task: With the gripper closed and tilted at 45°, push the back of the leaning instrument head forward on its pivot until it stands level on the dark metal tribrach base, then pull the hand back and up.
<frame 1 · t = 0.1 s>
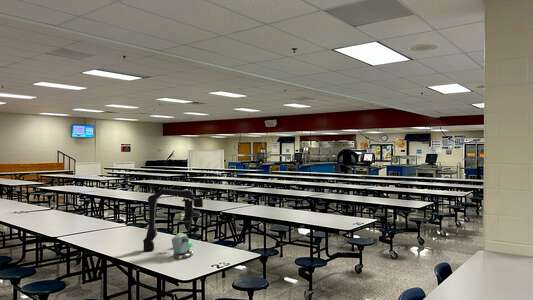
hand: (188, 229, 263), 15 cm above the table, tool pointing down, fingers open, 9 cm apart
tribrach base: (182, 256, 246), on the table
instrument head: (182, 242, 246), point 9 cm above the table, hinge at -14.0°
camera mount: (183, 247, 270), on the table
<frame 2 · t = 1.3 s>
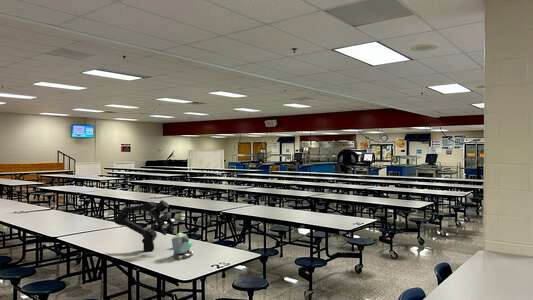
hand: (169, 233, 254), 13 cm above the table, tool tilted 45°, fingers open, 7 cm apart
nothing on the table moved.
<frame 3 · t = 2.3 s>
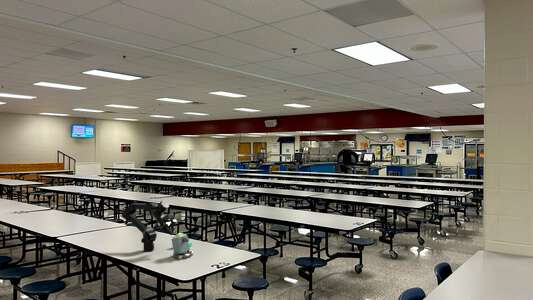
hand: (171, 234, 251), 14 cm above the table, tool tilted 45°, fingers closed
nothing on the table moved.
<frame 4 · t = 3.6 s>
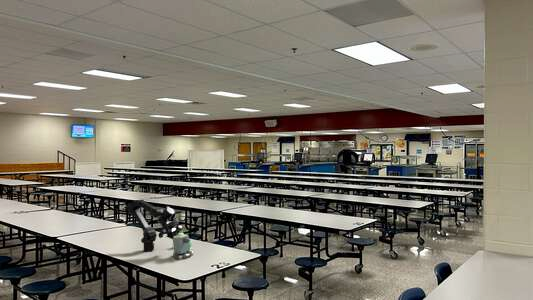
hand: (177, 241, 248), 10 cm above the table, tool tilted 45°, fingers closed, pressing on instrument head
instrument head: (182, 242, 245), point 9 cm above the table, hinge at -8.1°, touching gripper
everything else where it was.
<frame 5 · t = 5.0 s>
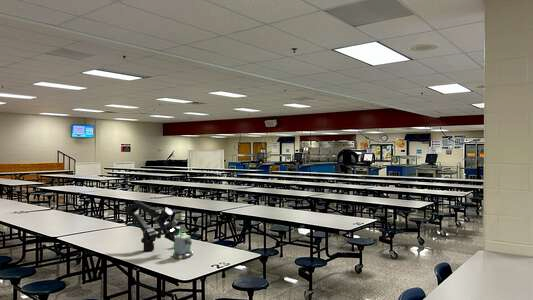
hand: (175, 241, 249), 9 cm above the table, tool tilted 45°, fingers closed
instrument head: (184, 243, 245), point 9 cm above the table, hinge at 3.0°
everything else where it was.
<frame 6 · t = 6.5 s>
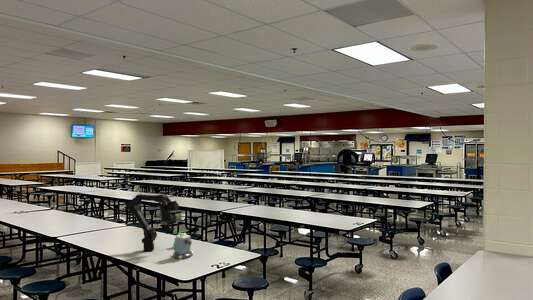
hand: (167, 234, 257), 13 cm above the table, tool pointing down, fingers closed
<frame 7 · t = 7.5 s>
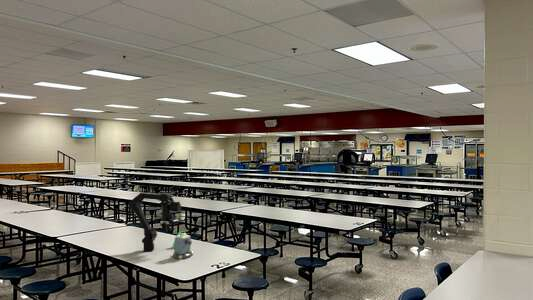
hand: (166, 233, 258), 13 cm above the table, tool pointing down, fingers closed
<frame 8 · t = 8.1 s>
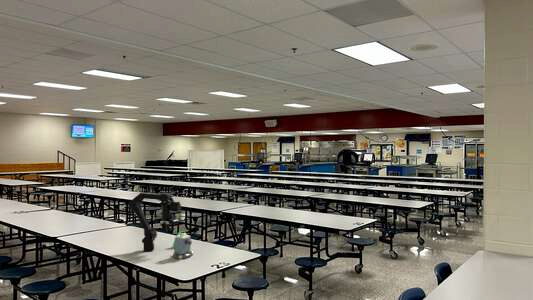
hand: (166, 233, 258), 13 cm above the table, tool pointing down, fingers closed
at the end: instrument head at +3° (first picture: -14°); instrument head tilted 3° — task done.
